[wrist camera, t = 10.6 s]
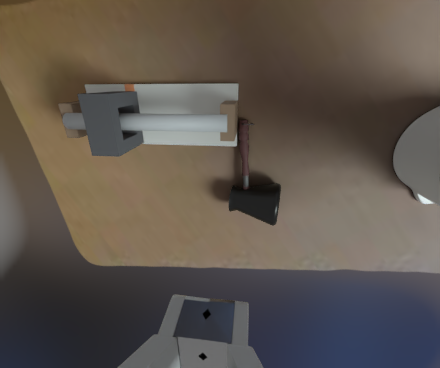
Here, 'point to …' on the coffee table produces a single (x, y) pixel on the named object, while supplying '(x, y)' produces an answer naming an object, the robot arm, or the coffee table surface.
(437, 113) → the robot arm
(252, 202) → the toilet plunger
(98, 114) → the collar
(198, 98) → the rail
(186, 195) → the coffee table surface
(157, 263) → the coffee table surface
